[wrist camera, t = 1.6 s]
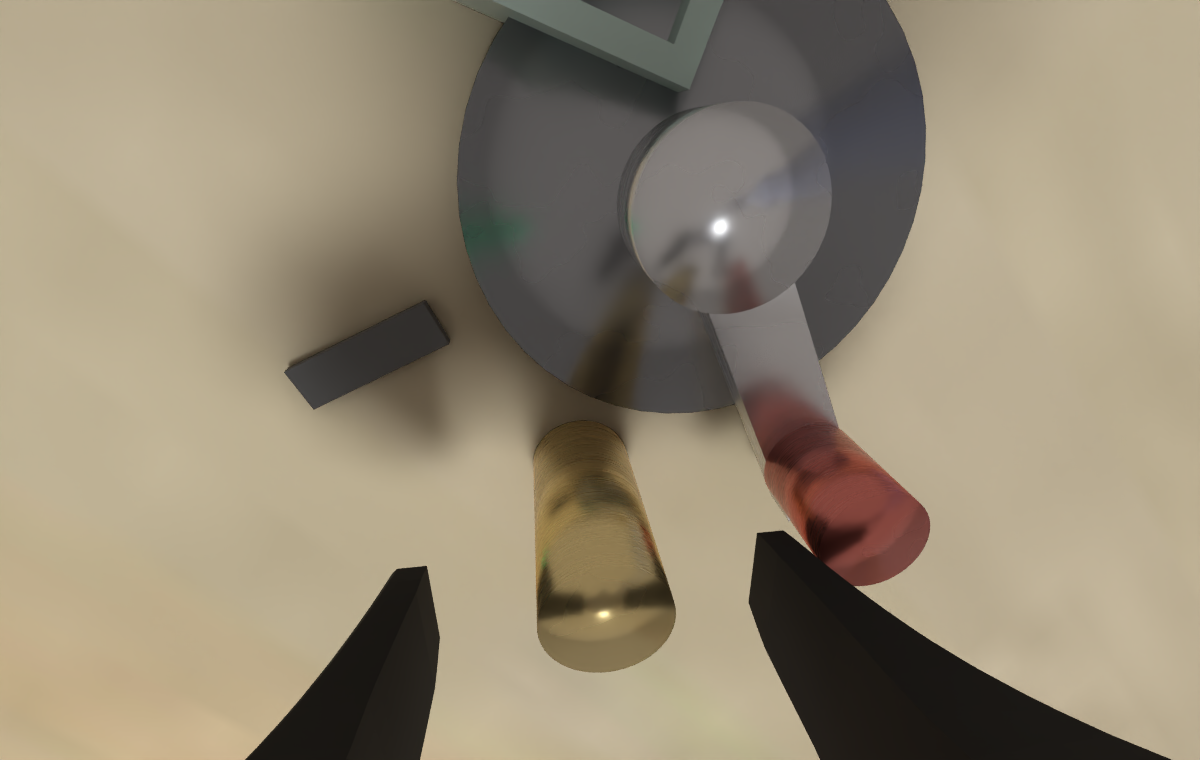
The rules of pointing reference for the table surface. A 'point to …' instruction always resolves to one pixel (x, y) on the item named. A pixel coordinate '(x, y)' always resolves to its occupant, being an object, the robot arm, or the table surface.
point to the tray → (618, 34)
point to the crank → (765, 315)
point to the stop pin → (595, 554)
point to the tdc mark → (368, 355)
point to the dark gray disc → (602, 148)
